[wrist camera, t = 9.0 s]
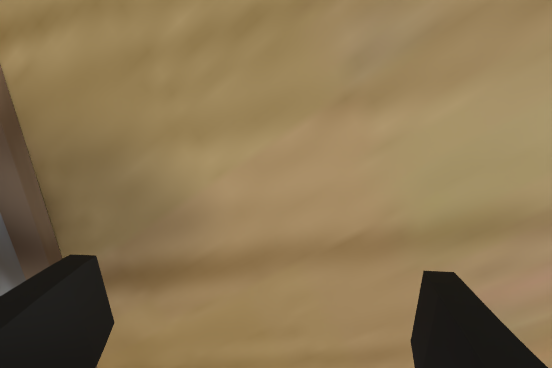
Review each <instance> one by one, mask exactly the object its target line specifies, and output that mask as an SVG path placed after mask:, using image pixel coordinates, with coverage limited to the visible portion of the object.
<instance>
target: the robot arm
mask: <svg viewBox="0 0 552 368" xmlns="http://www.w3.org/2000/svg"><path fill="white" fill-rule="evenodd" d="M113 325H114V319H113V316H112V312H111V308H110V305H109V301H108V297H107V294H106V290H105V286H104V283H103V279H102V275H101V272H100V268H99V264H98V260H97V257H96V256H91V255H69V256H67V257H65V258H63V259H61V260H60V261H58V262H56V263H54V264H53V265H51V266H49V267H47V268H46V269H44V270H42V271H41V272H39V273H37V274H36V275H34V276H32V277H31V278H29V279H27V280H26V281H24V282H23V283H21V284H19V285H18V286H16V287H14V288H13V289H11V290H10V291H8V292H6V293H5V294H3V295H1V296H0V368H96V366H97V364H98V361H99V359H100V357H101V354H102V352H103V350H104V347H105V345H106V342H107V340H108V337H109V335H110V332H111V330H112V327H113ZM411 346H412V352H413V359H414V365H415V368H548V367H547V366H546V365H545V364H544V363H543V362H541V361H540V360H539V359H538V358H537V357H536V356H535V355H534V354H533V353H532V352H531V351H530V350H529V349H528V348H527V347H526V346H525V345H524V344H523V343H522V342H521V341H520V340H519V339H518V338H517V337H516V336H515V335H514V334H513V333H512V332H511V331H510V330H509V329H508V328H507V327H506V326H505V325H504V324H503V323H502V322H501V321H500V320H499V319H498V318H497V317H496V316H495V315H494V314H493V313H492V312H491V310H490V309H489V308H488V307H487V306H486V305H485V304H484V303H483V302H482V301H481V300H480V299H479V298H478V297H477V296H476V295H475V294H474V293H473V292H472V290H471V289H470V288H469V287H468V286H467V285H466V284H465V283H464V282H463V281H462V280H461V279H460V278H459V277H458V276H457V275H456V274H455V273H454V272H438V271H424V272H423V277H422V283H421V288H420V294H419V299H418V304H417V310H416V315H415V321H414V326H413V332H412V337H411Z"/></svg>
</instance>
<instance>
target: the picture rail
mask: <svg viewBox="0 0 552 368" xmlns="http://www.w3.org/2000/svg"><path fill="white" fill-rule="evenodd" d="M61 259H62V256H61V253H60V250H59V247H58V244H57V241H56V237H55V234H54V231H53V228H52V225H51V222H50V219H49V216H48V212H47V209H46V206H45V203H44V200H43V197H42V194H41V191H40V187H39V184H38V181H37V178H36V175H35V172H34V169H33V166H32V162H31V159H30V156H29V153H28V150H27V147H26V144H25V140H24V137H23V134H22V131H21V128H20V125H19V122H18V119H17V115H16V112H15V109H14V106H13V103H12V100H11V97H10V94H9V90H8V87H7V84H6V81H5V78H4V75H3V72H2V69H1V65H0V296H1V295H3V294H5V293H6V292H8V291H10V290H11V289H13V288H14V287H16V286H18V285H19V284H21V283H23V282H24V281H26V280H27V279H29V278H31V277H32V276H34V275H36V274H37V273H39V272H41V271H42V270H44V269H46V268H47V267H49V266H51V265H53V264H54V263H56V262H58V261H60V260H61ZM96 368H97V366H96Z"/></svg>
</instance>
